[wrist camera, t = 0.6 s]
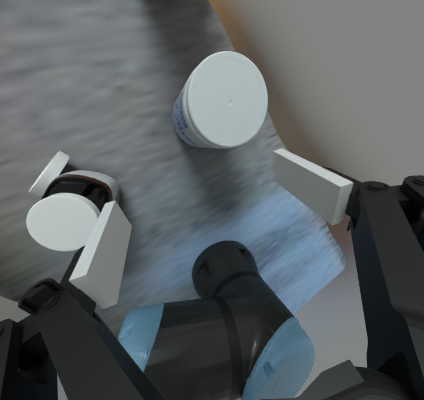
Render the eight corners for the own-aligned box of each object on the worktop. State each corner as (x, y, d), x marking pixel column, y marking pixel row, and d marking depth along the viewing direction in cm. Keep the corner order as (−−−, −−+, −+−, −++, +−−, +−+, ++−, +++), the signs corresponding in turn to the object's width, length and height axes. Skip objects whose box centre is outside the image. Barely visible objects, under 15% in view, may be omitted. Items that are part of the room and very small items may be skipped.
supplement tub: (159, 115, 30) (163, 89, 17) (200, 77, 31) (236, 22, 17) (197, 158, 34) (225, 166, 21) (233, 125, 34) (283, 110, 21)
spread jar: (116, 227, 33) (97, 265, 23) (39, 218, 29) (-27, 259, 19) (126, 163, 31) (111, 172, 20) (45, 145, 27) (-27, 143, 16)
